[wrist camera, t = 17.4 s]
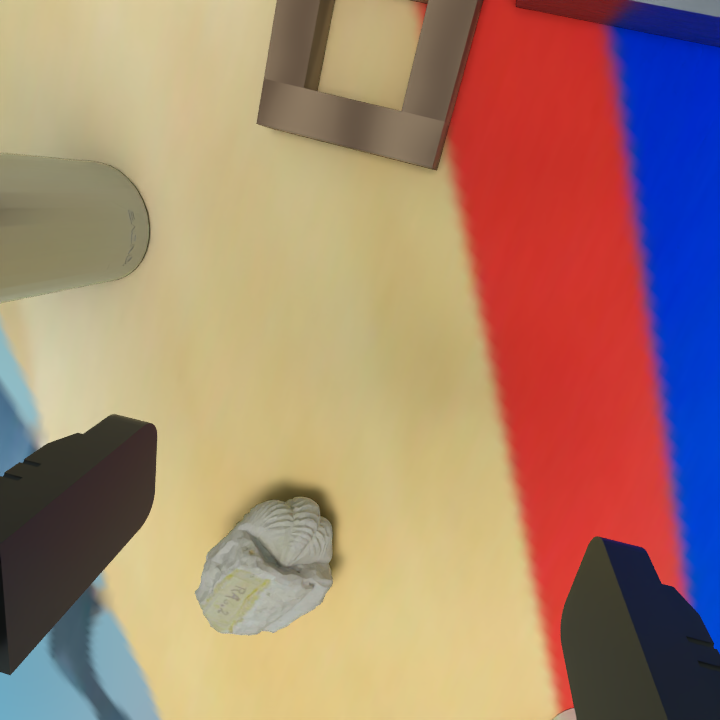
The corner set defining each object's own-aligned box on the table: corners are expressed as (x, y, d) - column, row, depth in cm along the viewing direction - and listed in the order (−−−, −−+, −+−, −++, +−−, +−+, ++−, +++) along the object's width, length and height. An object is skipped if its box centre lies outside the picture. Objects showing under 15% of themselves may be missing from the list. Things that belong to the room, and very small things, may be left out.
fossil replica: (360, 499, 45) (253, 461, 48) (321, 549, 38) (197, 500, 40) (331, 622, 48) (232, 579, 51) (290, 691, 41) (176, 637, 43)
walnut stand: (271, 128, 39) (256, 123, 36) (306, -73, 35) (292, -93, 32) (436, 170, 37) (432, 168, 34) (493, -38, 33) (492, -56, 30)
